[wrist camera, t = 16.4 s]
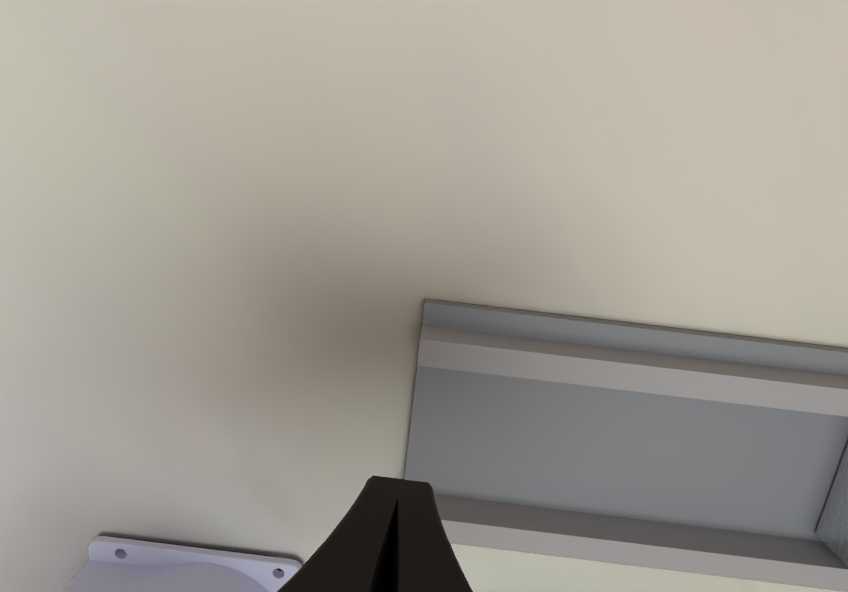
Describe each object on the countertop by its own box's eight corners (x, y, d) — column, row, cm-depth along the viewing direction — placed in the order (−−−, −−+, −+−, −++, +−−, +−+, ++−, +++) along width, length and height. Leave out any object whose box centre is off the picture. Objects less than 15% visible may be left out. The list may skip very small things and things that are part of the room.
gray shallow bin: (399, 519, 22) (391, 586, 19) (425, 298, 20) (420, 327, 16) (919, 583, 22) (1009, 662, 19) (1014, 368, 19) (1137, 412, 16)
